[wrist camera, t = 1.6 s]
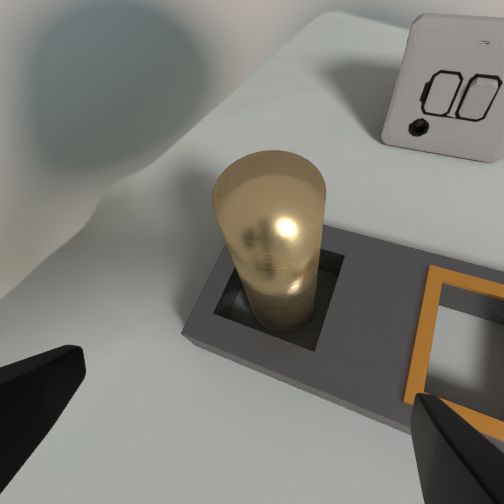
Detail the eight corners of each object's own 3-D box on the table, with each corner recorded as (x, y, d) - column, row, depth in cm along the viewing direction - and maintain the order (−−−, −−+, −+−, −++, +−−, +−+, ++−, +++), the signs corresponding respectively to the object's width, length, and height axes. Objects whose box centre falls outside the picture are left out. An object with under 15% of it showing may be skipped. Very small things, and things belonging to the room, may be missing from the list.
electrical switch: (377, 146, 29) (409, 27, 21) (387, 112, 31) (420, -5, 24) (497, 167, 26) (584, 41, 19) (498, 128, 29) (576, 3, 21)
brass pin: (325, 289, 23) (346, 171, 13) (294, 344, 22) (289, 261, 11) (271, 262, 25) (250, 138, 14) (239, 311, 23) (189, 212, 13)
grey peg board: (561, 314, 20) (604, 294, 18) (561, 497, 16) (616, 510, 14) (251, 227, 26) (245, 201, 24) (194, 345, 22) (179, 332, 20)
